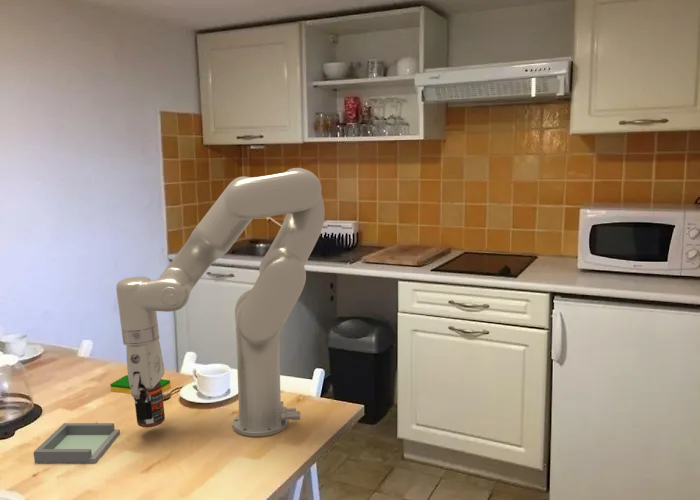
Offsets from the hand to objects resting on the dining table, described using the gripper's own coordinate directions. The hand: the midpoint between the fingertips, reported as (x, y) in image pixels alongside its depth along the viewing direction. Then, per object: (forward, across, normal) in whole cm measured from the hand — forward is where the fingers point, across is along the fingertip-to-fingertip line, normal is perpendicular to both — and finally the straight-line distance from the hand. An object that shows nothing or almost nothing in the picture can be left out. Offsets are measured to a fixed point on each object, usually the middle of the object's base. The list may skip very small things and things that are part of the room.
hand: (150, 411), depth 140 cm
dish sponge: (+6, +27, +12) cm, 30 cm away
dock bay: (+5, -6, +14) cm, 16 cm away
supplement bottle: (+3, 0, 0) cm, 3 cm away
